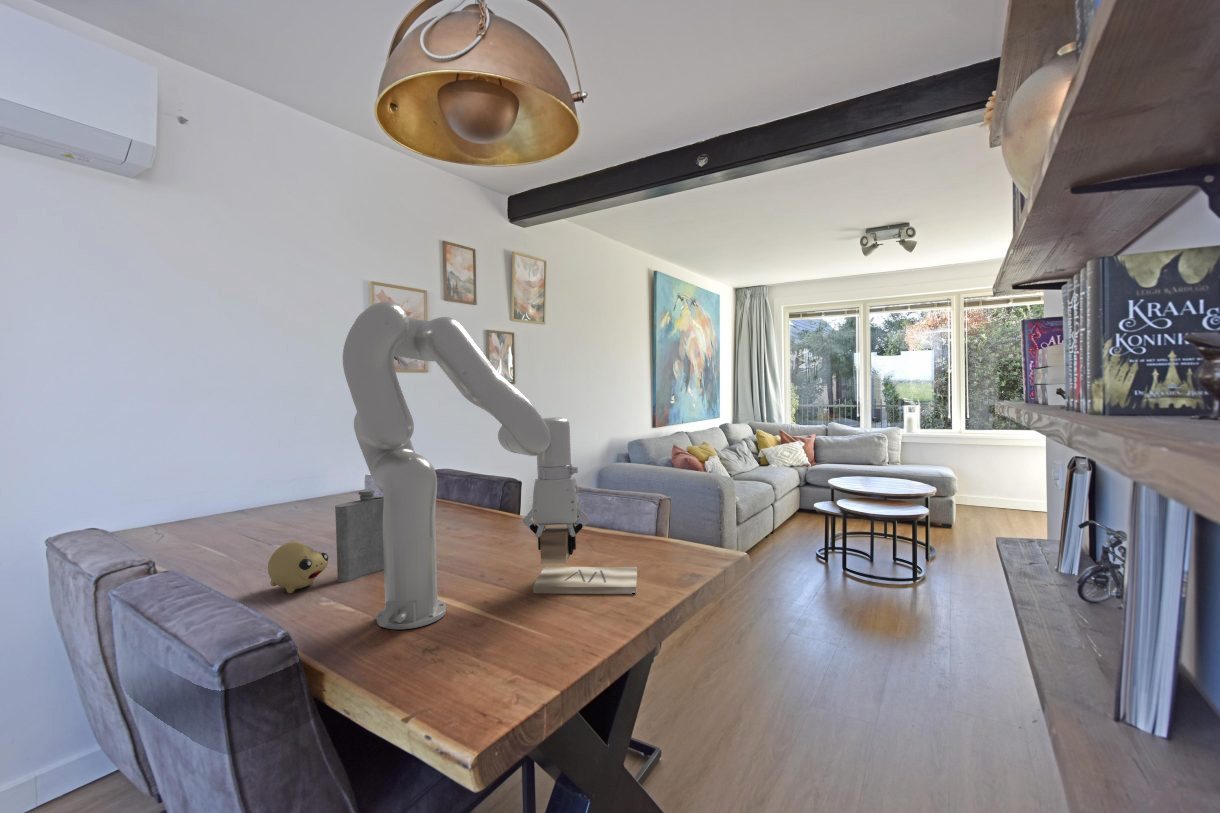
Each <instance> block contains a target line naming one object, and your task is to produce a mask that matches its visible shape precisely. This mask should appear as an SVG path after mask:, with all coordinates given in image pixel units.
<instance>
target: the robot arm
mask: <svg viewBox="0 0 1220 813" xmlns="http://www.w3.org/2000/svg"><path fill="white" fill-rule="evenodd" d="M395 357H400V358H405V359H411V360H417V361H424V362H435V363H436V364H437V365H438V366H439V367H440V369H441V370H442V372H444V374H445V375H446V377H447V378H448V379H449V380H450V381H451V382H452V383H453V385H454V386H455V387H456V389H457V390H458V391H459V392H460V394H461V395H462V396H463V398H464V399H466V400H467V401H469V402H470V403H471V404H473V405H475V406H476V407H478V408H480V409H482V410H483V411H485V412H487V413H488V414H490V416H492V417H493V418H494V419H496V420H497V421H498V422H499V424H501V425H500V427H499V429H498V433H497V434H498V435H497V437H498V442H499V444H500V446H501V447H502V448H503V449H505V450H506V451H508V452H510V453H513V454H517V455H518V454H519V455H524V456H528V457H535V456H536V462H537V463H536V465H537V467H536V468H537V470H536V471H537V478H535V480H534V486H533V490H532V491H533V492H532V493H533V494H532V508H531V510H530V511H529V512H528V513H527V514H526V515H525V516H524V518H523V519H522V523H523V524H524V525H525V526H526V527H528V528H529V530H530V531H532V532H533V533H534V534H535V536H536V537H537V546H538V547H537V550H538V551H541V549H540V535H541V534H542V533H543V531H544V530H545V529H546V527H547V526H548V525H556V524H566V525H567V528H568V530H569V537H568V552H569V555H570V556H571V555H573V552H574V551H575V550H576V549H577V541H576V540H577V539H576V537H577V534H578V533H579V532H580V531H581V530H582V529H583V528H584V527H585V526H586V525H588V523H589V522H590V520H591V518H590V516H589V515H588V514H587V513H586V512H585V511H584V510H583V509H582V508H581V507H580V502H579V501H580V500H579V492H578V486H577V480H576V477H575V476H574V477H572V476H573V475H575V474H578V473H579V470H578V467H577V466H575V467H574V466H573V464H572V456H571V455H572V453H571V450H572V449H571V429H570V428H571V427H570V422H569V420H568V419H567V418H566V417H542V415H541V414H540V412H539V411H538V410H537V409H536V408H535V406H534V405H533V404H532V403H531V402H530V400H529V399H528V398H526V396H525V395H524V394H523V393H522V392H521V391H520V390H518V389H517V388H516V387H515V386H514V385H513V384H512V383H510V381H509V380H507V378H505V377H504V376H503V375H502V374H500V373H499V372H498V370H497V369H496V368H495V367H494V366H493V364H492V363H491V361H490V360H489V359H488V357H487V356H486V355H485V354H484V352H483V351H482V350H481V348H480V347H479V346H478V345H477V342H476V341H474V339H473V338H472V336H471V335H470V334H469V333H468V331H467V330H466V329H465V327H464V326H463V325H462V324H461V323H460V322H459V321H458V320H456V319H455V318H452V317H447V316H442V317H436V318H433V319H431V320H423V319H417V318H413V317H409V316H408V315H407V313H406V311H405V310H404V309H403V308H402V307H401V306H400V305H398V304H396V303H394V302H391V301H380V302H376V303H373V304H371V305H369V306H368V307H367V308H365V309H364V311H362V312H361V313H360V314H359V315H358V316H357V317H356V319H355V321H354V322H353V324H352V326H351V327H350V328H349V331H348V333H347V335H346V339H345V340H344V345H343V350H342V367H343V372H344V376H345V381H346V383H347V386H348V389H349V392H350V395H351V399H352V402H353V404H354V407H355V410H356V413H355V416H354V420H353V427H354V428H353V430H354V434H355V437H356V439H357V443H358V445H359V447H360V449H361V453H362V456H363V459H364V461H365V463H366V467H367V468H368V471H369V474H370V476H371V478H372V480H373V483H374V485H375V486H376V487H377V488H378V490H380V491H381V493H383V495H384V504H383V551H384V570H383V575H384V576H383V579H384V580H383V581H384V584H383V585H384V607H382V608H381V609H380V610H379V611H378V613H377V614H376V623H377V625H378V627H380V628H381V627H382V628H385V629H390V630H410V629H416V628H420V627H424V626H427V625H430V624H433V623H435V622H438V621H439V620H440V619H441V618H443V617H444V615H446V613H447V606H446V603H445V602H443V601H442V600H440V599H438V572H437V569H438V567H437V565H438V564H437V534H436V506H437V494H438V477H437V476H438V475H437V472H436V470H435V467H434V466H433V464H432V463H431V462H430V461H429V460H428V458H426V457H424V455H422V454H418V453H416V451H415V448H414V447H413V444H412V441H411V438H412V437H413V434H414V428H415V427H414V426H415V425H414V423H415V422H414V419H413V416H412V413H411V412H410V411H411V410H410V409H409V407H408V406H409V405H408V403H407V402H406V399H405V396H404V394H403V391H402V388H401V385H400V383H399V380H398V376H397V372H396V368H395ZM578 518H580V519H581V520H580V521H579V522H578V523H577V524H576V525H575V523H576V522H577V521H578ZM532 520H533V521H532ZM546 525H547V526H546Z"/></svg>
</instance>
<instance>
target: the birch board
mask: <svg viewBox="0 0 1220 813" xmlns="http://www.w3.org/2000/svg"><path fill="white" fill-rule="evenodd" d="M637 585H638V567H637V566H543V568H542V570H541V572H540V573H539V575H538V577H537V579H536V580H535V582H534V583H533V585H532V593H533V594H577V595H578V594H582V595H583V594H585V595H586V594H589V595H590V594H591V595H593V594H595V595H599V594H600V595H602V594H605V595H606V594H607V595H611V594H612V595H633V594H632V593H635V594H634V595H636V594H637V589H636V588H638V587H637Z"/></svg>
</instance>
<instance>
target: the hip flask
mask: <svg viewBox="0 0 1220 813" xmlns="http://www.w3.org/2000/svg"><path fill="white" fill-rule="evenodd" d="M375 492H376V490H375V489H373V488H371V489H370V488H369V489H368V488H367V489H366V488H365V489H361V490H358V495H359V499H360V500H354V501H349V502H345V503H339V504H335V538H336V539H335V541H336V565H337V567H336V570H337V573H336V574H337V582H338V581H339V582H338V583H346V582H350V581H353V580H355V579H359V578H361V577H364V576H366V575H367V576H368V575H370V574H373V573H377V572H380V570H381V571H384V551H383V504H384V494H383V495H375Z"/></svg>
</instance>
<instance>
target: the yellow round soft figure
mask: <svg viewBox="0 0 1220 813" xmlns="http://www.w3.org/2000/svg"><path fill="white" fill-rule="evenodd" d="M328 564H329V555H328V554H327V553H325V552H322V551H316V550H314V549H313V548H312V547H310V546H308V545H307V544H304V543H302V542H299V541H295V540H291V541H287V542H285V543H283V544H282V545H280V546H279V547H278V548H277V549H276V550H275V551H274V552H273V553H272V555H271V557H269V560H268V564H267V572H268V576H269V578H270V581H269V582H270V583H269V584H270V586H272V587H276V586H278V587H280V588H283V589H286V592H287V594H293V593H294V592H295V590H299V589H303V588H305V587H307V586H308V587H312V585H313V584H314V581H315V580H316V579H317V577H318V576H319V575H320V574H322V573H323V572H324V571H325V569H326V568H327V567H328Z"/></svg>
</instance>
